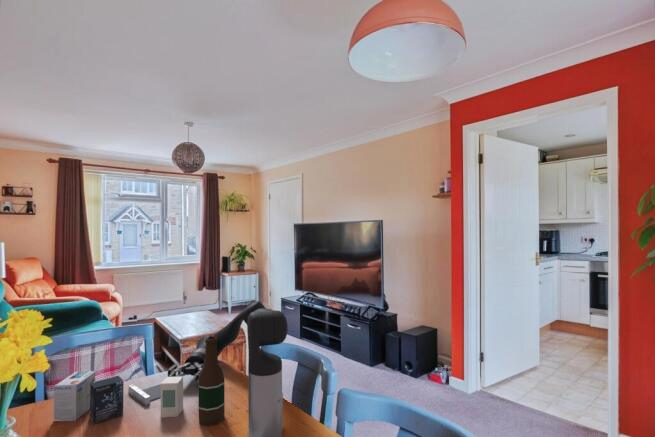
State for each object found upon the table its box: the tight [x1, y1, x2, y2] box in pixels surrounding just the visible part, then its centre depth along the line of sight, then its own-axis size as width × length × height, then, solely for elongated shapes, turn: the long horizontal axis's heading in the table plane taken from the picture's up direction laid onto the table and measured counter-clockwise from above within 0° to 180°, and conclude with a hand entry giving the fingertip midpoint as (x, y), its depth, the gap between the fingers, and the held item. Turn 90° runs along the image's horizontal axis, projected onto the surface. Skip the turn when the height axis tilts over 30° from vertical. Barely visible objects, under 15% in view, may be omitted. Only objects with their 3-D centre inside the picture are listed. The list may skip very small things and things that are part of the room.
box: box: [89, 375, 125, 425], centre depth 112 cm, size 8×6×11 cm
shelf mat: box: [141, 383, 161, 402], centre depth 128 cm, size 12×10×1 cm
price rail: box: [128, 384, 151, 407], centre depth 124 cm, size 2×14×2 cm, turn 48°
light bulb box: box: [53, 370, 96, 422], centre depth 114 cm, size 11×7×11 cm, turn 5°
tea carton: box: [160, 376, 184, 418], centre depth 114 cm, size 5×5×10 cm
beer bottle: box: [198, 337, 226, 427], centre depth 110 cm, size 8×8×24 cm
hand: (183, 378), depth 125 cm, fingers open, 8 cm apart
